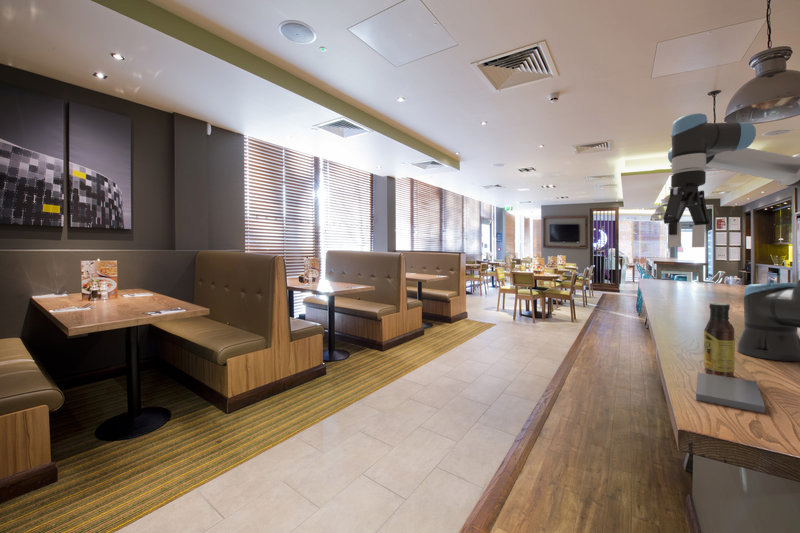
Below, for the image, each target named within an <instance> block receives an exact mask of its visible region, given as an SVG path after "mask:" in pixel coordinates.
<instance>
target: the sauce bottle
mask: <svg viewBox="0 0 800 533" xmlns="http://www.w3.org/2000/svg"><path fill="white" fill-rule="evenodd" d="M730 307H731V306H730V304H729V303H725V302H710V303H709V313H710V315H709V320H708V322H707V324H706V326H705V328H704V329H703V366H704V371H705V373H706V374H712V375H718V376H725V377H731V378H733V376H735V371H736V370H735V368H736V366H735V364H736V363H735V362H736V361H735V360H736V358H735V356H736V353H735V352H736V349H735V348H736V346H735V345H736V339H735V328H734V326H733V325H732V323H731V322H730V321H729V319H730V318H729V311H730Z"/></svg>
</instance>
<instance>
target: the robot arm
mask: <svg viewBox="0 0 800 533" xmlns="http://www.w3.org/2000/svg"><path fill="white" fill-rule="evenodd" d="M708 121H709V120H708V117H707V114H705V113H690V114H687V115H684V116H683V115H682V116H681V117H679V118H677V119H675V120H674V122H673V123H672V128H671V135H670V136H671V148H670V149H669V151H668V154H667V157H668V158H667V159H668V161H669V162H670V164H669V167H670V168H671V173H672V175H671V176H670V178H671V179H670V186H671V188H670V190H669V197H668V202H667V205H666V208H665V211H664V216H663V224H668V225H667V226H668V227H667V230H668V231H667V233H668V234H667V235H668V236H667V248H681V247H682V245H681V244H682V223H681V222H680V220H681V219H682V216H683V215H684V213H685V210H686V208H687V209H688V212H689V214H690V217H691V219H692V222H693V225H692V226H691V227H692V231H691V232H692V233H691V236H692V237H691V243H692V244H691V248H705V243H706V242H705V241H706V240H705V237H706V236H705V234H706V229H705V228H706V225H710V219H709V213H708V209H707V205H706V199H705V198H706V197H705V190H699V187H700V186H701V187H702V186H704V185H705V184H706V179H707V178H706V175H707V172H706V171H705V170H706V168H711V169H716V170H722V171H727V172H732V173H735V174H736V173H737V174H741V175H745V176H747V175H748V176H753V177H758V178H764V179H768V180H773V181H776V183H777V184H778V185H780V186H785V187H790V188H796V189H800V153H796V154H794V155H788V154H783V153H777V152H773V151H772V152H771V151H766V150H760V149H755V148H751V147H750V146H751V145H752V144H753V142H754V140H755V139H756V133H757V129H756V126H755V125H754V124H752V123H751V122H743V121H742V122H741V121H735V122H733V121H732V122H708ZM743 316H744V317H743V318H744V319H743V321H744V323H743V324H744V326H743V327H744V328H743V331H742V332H741V335H740V337H739V339H738V342H736V343H737V344H736V350H737V352H738V353H740V354H743V355H747V356H750V357H754V358H760V359H764V360H772V361H780V362H781V361H783V362H800V335H799V334H798V333H799V332H798V329H800V278H799V279H798V281H797V283H796V282H775V283H774V282H773V283H754V284H753V283H751V284H748V285H746V286H745V288H744V293H743Z"/></svg>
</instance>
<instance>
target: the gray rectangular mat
mask: <svg viewBox="0 0 800 533" xmlns="http://www.w3.org/2000/svg"><path fill="white" fill-rule="evenodd" d="M757 383H758V382H757V381H756V380H750V379H749V380H748V379H743V378H737V377H725V376H718V375H712V374H709V373H706V372H699V371H698V372H697V379H696V391H695V398H696V399H695V400H696V401H699V402H704V403H709V404H714V403H716V404H715V405H719V406H726V407H731V408H735V409H741V410H745V411H750V412H756V413H762V414H766V406H765V403H764V400H763V396H762V393H761V392H760V388H759V385H758V384H757Z"/></svg>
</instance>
